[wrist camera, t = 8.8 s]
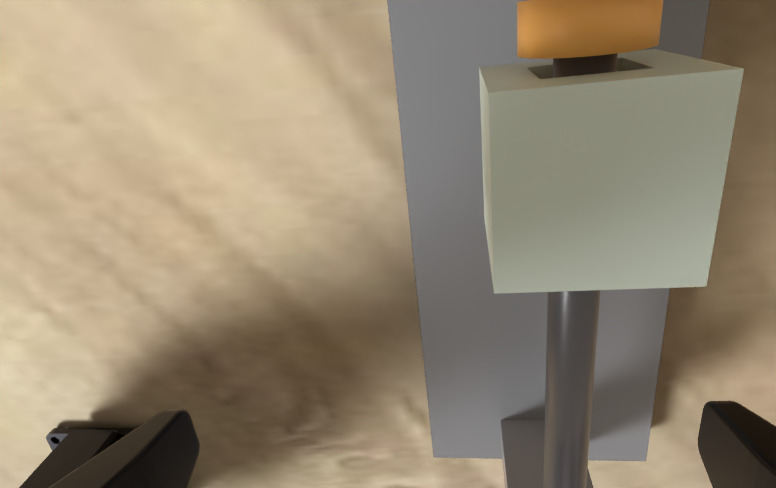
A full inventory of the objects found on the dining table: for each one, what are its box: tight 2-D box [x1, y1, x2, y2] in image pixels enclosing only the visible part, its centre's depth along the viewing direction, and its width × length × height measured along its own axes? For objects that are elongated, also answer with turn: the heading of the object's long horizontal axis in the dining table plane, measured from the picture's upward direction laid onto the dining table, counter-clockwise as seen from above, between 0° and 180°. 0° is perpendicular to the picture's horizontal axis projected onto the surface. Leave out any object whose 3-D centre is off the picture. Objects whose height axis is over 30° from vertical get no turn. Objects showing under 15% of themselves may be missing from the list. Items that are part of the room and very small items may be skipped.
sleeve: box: [479, 49, 744, 294], centre depth 11 cm, size 4×4×4 cm
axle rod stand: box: [387, 0, 710, 488], centre depth 15 cm, size 22×9×9 cm, turn 6°
